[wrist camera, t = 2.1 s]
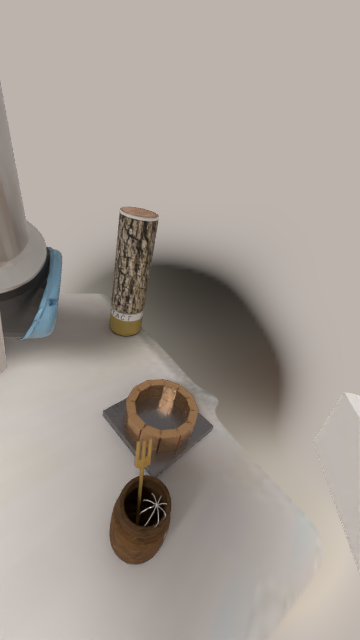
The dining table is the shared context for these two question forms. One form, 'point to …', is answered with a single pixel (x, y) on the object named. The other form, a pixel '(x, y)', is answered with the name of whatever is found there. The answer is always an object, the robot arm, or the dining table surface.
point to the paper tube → (132, 268)
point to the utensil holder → (140, 514)
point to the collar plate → (158, 422)
